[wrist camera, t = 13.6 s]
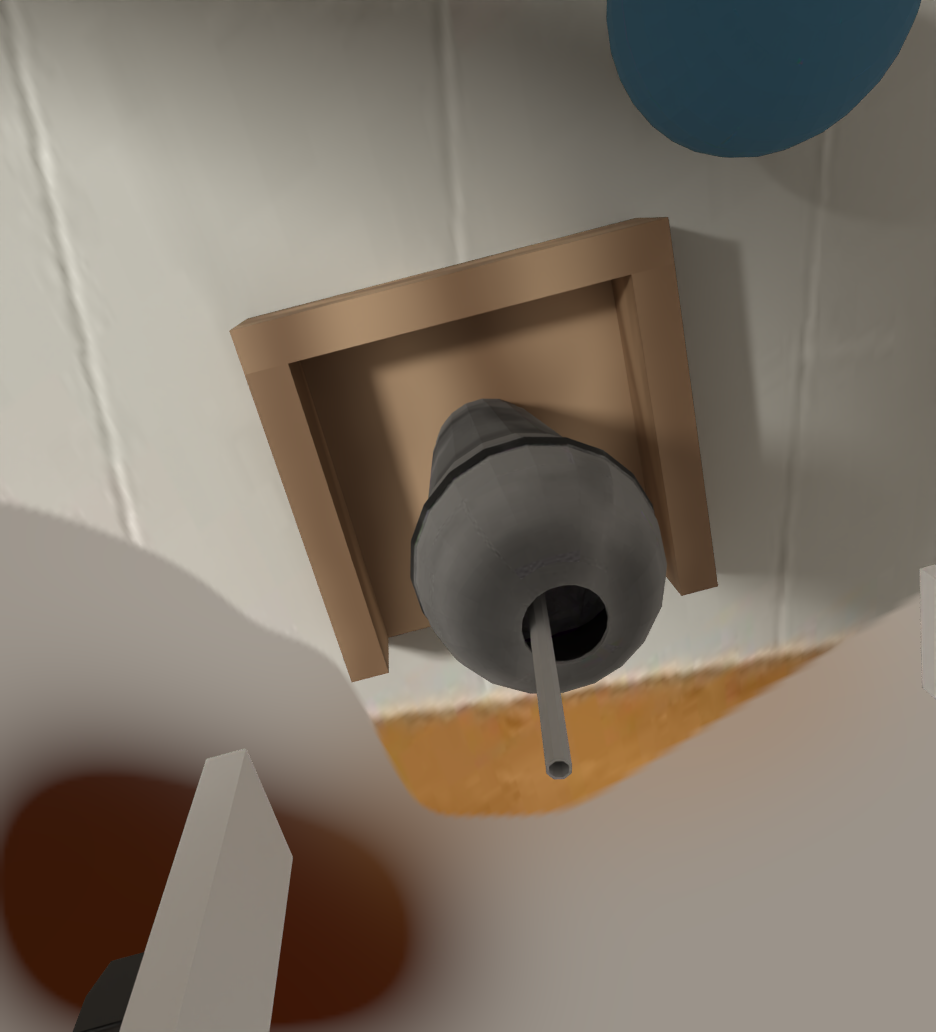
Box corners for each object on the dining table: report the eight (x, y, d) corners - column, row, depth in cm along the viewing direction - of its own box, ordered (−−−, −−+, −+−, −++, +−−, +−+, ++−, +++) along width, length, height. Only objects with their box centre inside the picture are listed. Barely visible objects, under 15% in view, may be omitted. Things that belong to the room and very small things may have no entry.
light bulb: (508, 36, 28) (587, -86, 17) (690, -144, 27) (904, -403, 16) (642, 220, 31) (786, 218, 20) (814, 65, 30) (1071, -30, 19)
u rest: (355, 637, 36) (351, 682, 33) (247, 318, 31) (229, 330, 27) (685, 551, 37) (718, 586, 33) (636, 218, 31) (668, 217, 28)
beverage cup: (597, 487, 34) (851, 803, 15) (447, 557, 35) (517, 947, 16) (532, 334, 31) (743, 493, 13) (371, 412, 32) (349, 674, 13)
